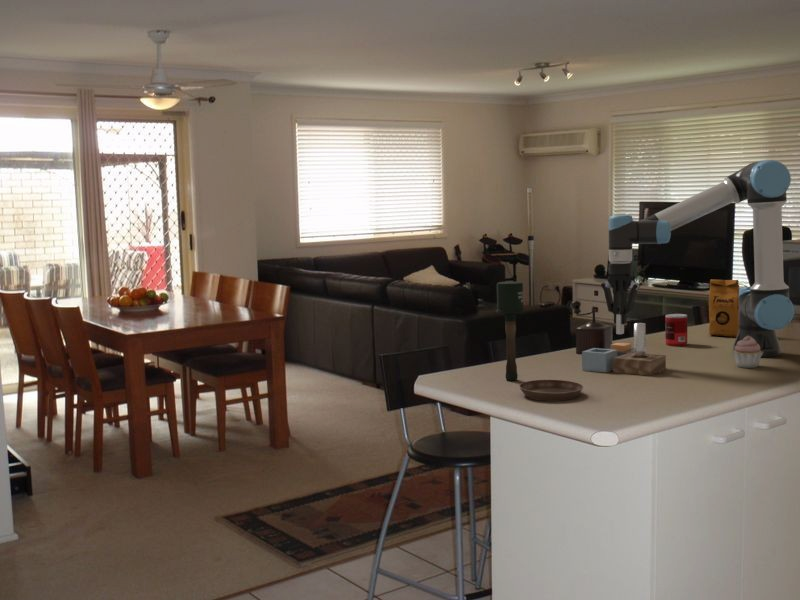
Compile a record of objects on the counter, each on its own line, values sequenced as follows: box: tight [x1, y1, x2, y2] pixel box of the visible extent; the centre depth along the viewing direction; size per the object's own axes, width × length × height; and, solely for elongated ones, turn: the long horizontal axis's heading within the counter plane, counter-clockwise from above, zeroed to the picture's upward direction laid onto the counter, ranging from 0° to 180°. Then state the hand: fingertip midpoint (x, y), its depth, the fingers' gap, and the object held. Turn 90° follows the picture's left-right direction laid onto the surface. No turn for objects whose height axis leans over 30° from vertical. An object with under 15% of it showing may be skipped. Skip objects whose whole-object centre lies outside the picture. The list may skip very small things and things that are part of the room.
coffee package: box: [708, 278, 740, 338], centre depth 346 cm, size 10×12×22 cm
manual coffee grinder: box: [570, 300, 613, 355], centre depth 320 cm, size 16×11×18 cm
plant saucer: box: [518, 379, 584, 402], centre depth 250 cm, size 18×18×3 cm
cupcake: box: [731, 336, 763, 369], centre depth 282 cm, size 9×9×10 cm
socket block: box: [613, 353, 667, 376], centre depth 281 cm, size 12×12×4 cm
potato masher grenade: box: [495, 281, 525, 382], centre depth 272 cm, size 8×9×30 cm
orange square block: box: [611, 342, 632, 352], centre depth 296 cm, size 5×5×4 cm
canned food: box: [664, 313, 688, 347], centre depth 329 cm, size 8×8×11 cm
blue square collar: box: [581, 348, 617, 373], centre depth 286 cm, size 8×8×6 cm
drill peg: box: [633, 322, 647, 358], centre depth 281 cm, size 4×4×15 cm
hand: (620, 333), depth 295 cm, fingers closed
